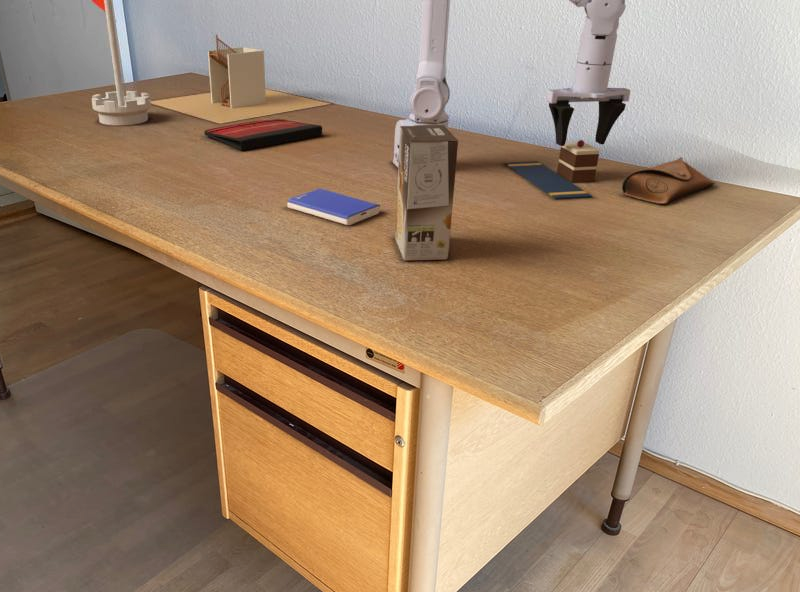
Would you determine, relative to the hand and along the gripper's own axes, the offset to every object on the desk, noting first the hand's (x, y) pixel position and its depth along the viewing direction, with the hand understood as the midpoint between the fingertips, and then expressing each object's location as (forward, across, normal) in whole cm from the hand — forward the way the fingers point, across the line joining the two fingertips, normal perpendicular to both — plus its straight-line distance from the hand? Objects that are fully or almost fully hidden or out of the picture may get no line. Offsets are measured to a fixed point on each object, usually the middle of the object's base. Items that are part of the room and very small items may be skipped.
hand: (580, 143), depth 132 cm
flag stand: (+7, -83, +61) cm, 103 cm away
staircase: (+7, -55, +77) cm, 95 cm away
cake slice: (+6, 0, 0) cm, 6 cm away
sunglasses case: (+6, +13, -10) cm, 17 cm away
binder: (+6, -53, +40) cm, 67 cm away
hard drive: (+6, -47, -11) cm, 49 cm away
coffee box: (+6, -38, -29) cm, 48 cm away
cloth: (+6, -6, 0) cm, 9 cm away
